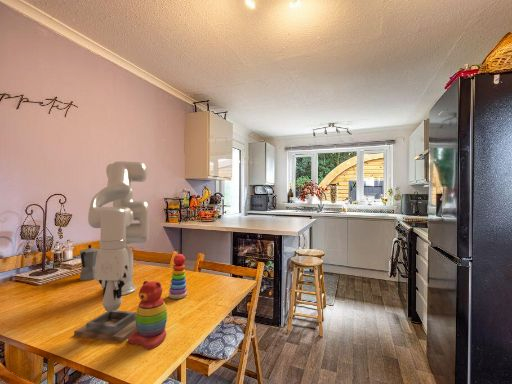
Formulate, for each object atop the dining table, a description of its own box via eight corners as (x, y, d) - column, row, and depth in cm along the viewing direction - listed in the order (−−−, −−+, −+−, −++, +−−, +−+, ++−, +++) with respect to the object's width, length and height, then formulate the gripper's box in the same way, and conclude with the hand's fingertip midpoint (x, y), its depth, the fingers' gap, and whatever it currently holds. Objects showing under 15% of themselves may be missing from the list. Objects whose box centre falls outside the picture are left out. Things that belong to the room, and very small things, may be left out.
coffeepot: (85, 274, 150) (86, 242, 151) (103, 274, 152) (104, 242, 152) (71, 283, 135) (71, 248, 135) (91, 283, 137) (91, 247, 137)
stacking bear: (124, 342, 82) (125, 284, 82) (149, 327, 91) (150, 275, 92) (151, 350, 78) (151, 289, 78) (174, 334, 87) (175, 279, 87)
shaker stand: (74, 335, 86) (74, 323, 86) (102, 318, 97) (102, 307, 97) (123, 342, 82) (123, 329, 82) (146, 324, 94) (146, 312, 94)
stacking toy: (182, 300, 115) (182, 256, 115) (165, 298, 116) (165, 255, 117) (190, 293, 123) (190, 252, 123) (174, 292, 124) (174, 252, 124)
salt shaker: (101, 313, 86) (102, 273, 86) (102, 307, 91) (103, 268, 91) (122, 310, 88) (122, 271, 89) (121, 304, 94) (122, 266, 94)
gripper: (83, 245, 88) (82, 302, 88) (126, 248, 85) (126, 306, 84) (100, 242, 95) (100, 293, 95) (141, 244, 92) (141, 297, 92)
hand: (112, 299), depth 90 cm, fingers closed on salt shaker, 3 cm apart
